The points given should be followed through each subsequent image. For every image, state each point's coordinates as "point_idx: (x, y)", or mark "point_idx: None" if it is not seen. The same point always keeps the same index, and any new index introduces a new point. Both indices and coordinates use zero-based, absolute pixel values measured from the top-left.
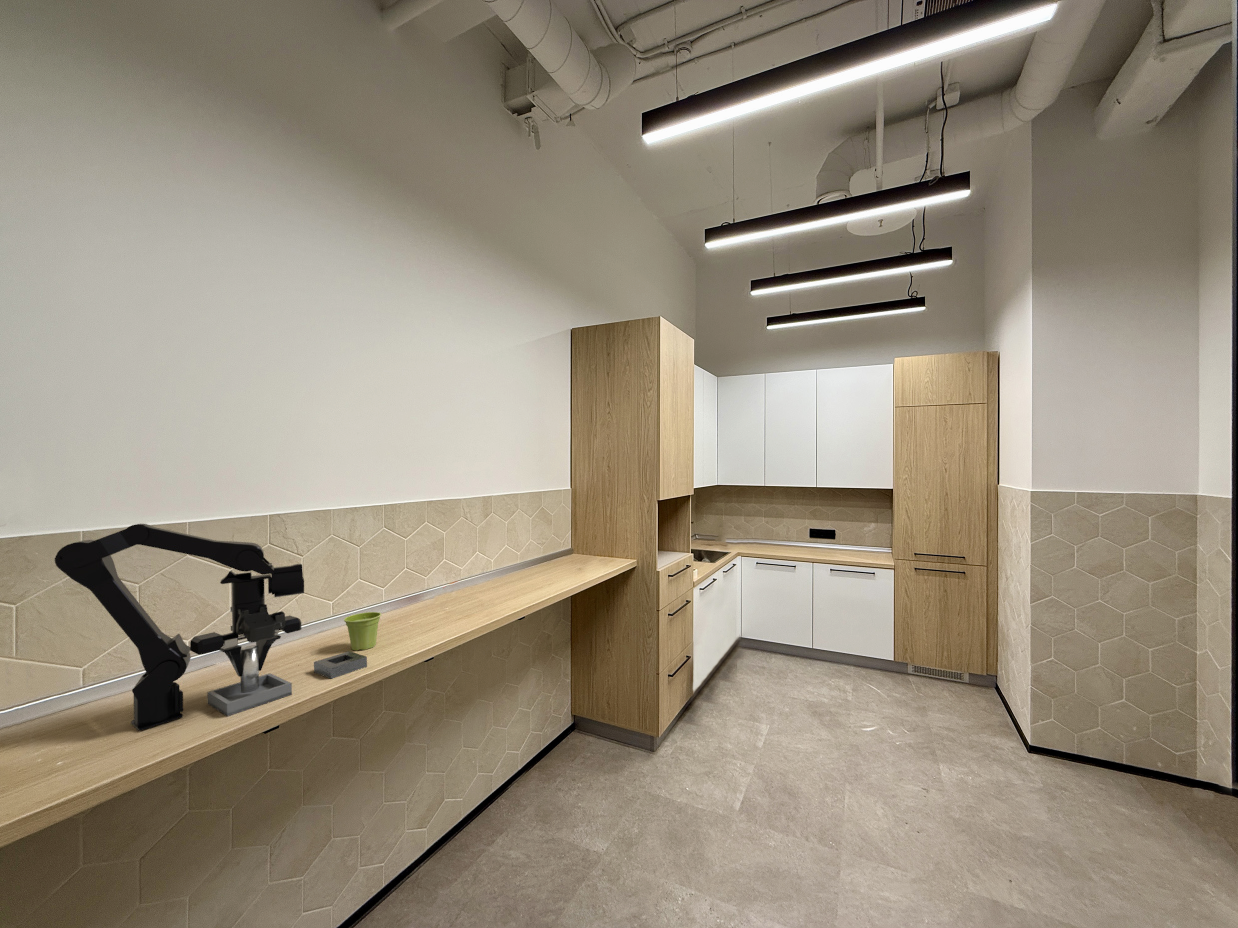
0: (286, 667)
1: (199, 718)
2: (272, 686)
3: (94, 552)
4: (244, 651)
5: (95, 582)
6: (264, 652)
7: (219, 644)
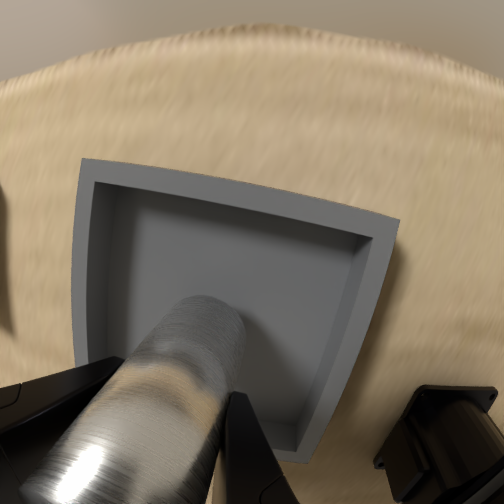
0: None
1: (415, 320)
2: (110, 324)
3: None
4: None
5: None
6: (17, 403)
7: None
